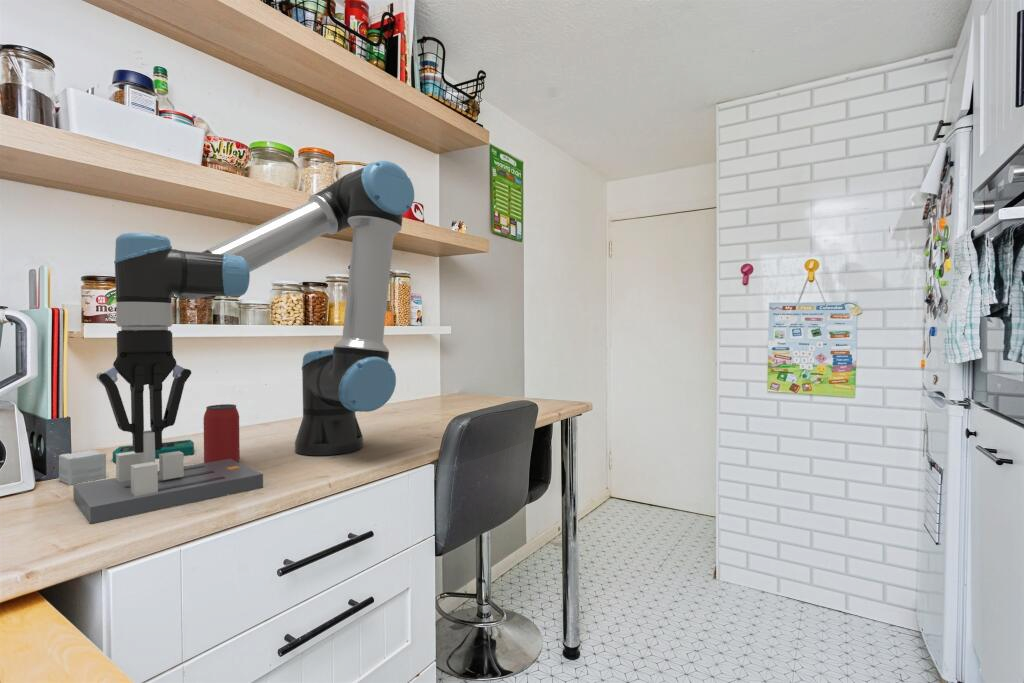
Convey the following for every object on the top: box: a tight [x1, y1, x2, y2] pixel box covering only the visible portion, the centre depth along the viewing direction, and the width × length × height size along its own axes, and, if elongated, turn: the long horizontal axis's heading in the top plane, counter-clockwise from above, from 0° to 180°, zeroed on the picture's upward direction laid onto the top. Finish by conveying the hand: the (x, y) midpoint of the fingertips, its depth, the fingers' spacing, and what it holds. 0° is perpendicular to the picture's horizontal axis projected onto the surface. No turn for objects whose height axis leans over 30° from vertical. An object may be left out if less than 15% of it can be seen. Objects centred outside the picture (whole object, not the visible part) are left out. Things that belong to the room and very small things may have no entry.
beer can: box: [203, 403, 241, 463], centre depth 109 cm, size 7×7×12 cm
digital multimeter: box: [112, 439, 195, 464], centre depth 116 cm, size 7×15×3 cm, turn 122°
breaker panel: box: [72, 451, 264, 525], centre depth 89 cm, size 24×16×7 cm, turn 137°
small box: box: [58, 449, 107, 486], centre depth 97 cm, size 6×6×5 cm
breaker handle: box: [158, 451, 185, 480], centre depth 89 cm, size 3×2×4 cm
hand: (148, 470), depth 87 cm, fingers closed
